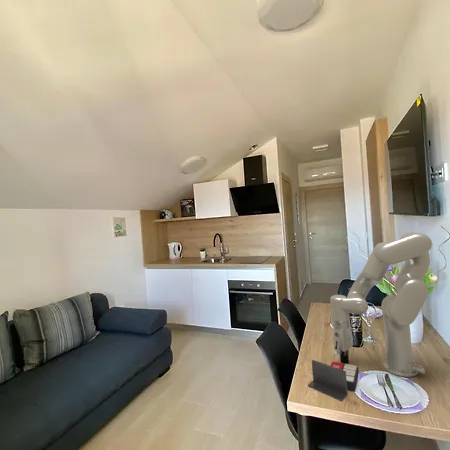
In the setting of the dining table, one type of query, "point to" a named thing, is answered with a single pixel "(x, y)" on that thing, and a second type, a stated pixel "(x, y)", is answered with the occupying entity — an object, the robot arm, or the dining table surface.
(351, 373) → the red and tan block
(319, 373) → the bookend
